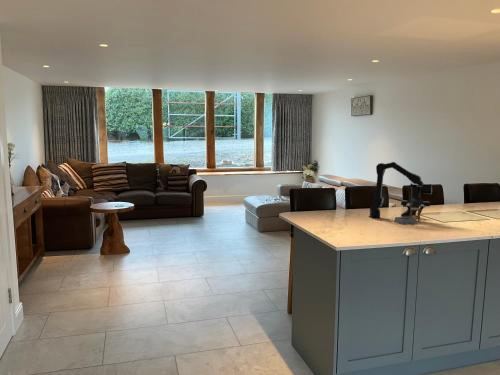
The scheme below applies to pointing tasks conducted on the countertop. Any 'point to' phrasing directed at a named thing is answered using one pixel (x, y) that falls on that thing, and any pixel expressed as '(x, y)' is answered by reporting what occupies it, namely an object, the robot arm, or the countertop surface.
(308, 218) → the countertop surface
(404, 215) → the sculpture
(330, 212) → the countertop surface
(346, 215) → the countertop surface
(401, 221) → the tray
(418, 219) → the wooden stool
